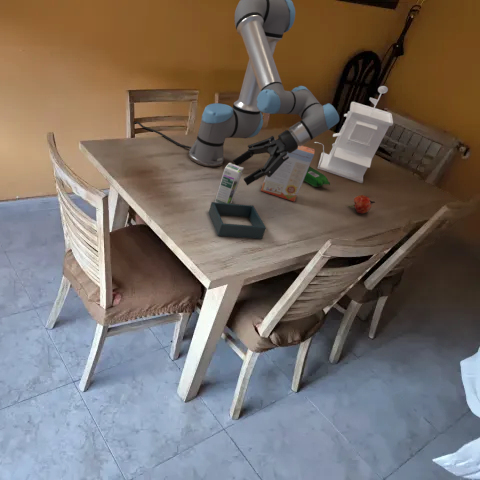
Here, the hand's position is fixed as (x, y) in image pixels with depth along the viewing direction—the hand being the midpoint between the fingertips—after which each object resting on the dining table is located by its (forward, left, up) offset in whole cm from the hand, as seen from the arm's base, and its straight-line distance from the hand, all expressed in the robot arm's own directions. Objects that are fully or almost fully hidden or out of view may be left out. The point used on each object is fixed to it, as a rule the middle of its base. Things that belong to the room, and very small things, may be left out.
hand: (239, 172), depth 153 cm
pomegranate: (+47, +30, -13) cm, 57 cm away
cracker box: (+15, +21, -13) cm, 29 cm away
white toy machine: (+36, +71, -13) cm, 80 cm away
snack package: (+26, +43, -13) cm, 52 cm away
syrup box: (-2, -1, -13) cm, 13 cm away
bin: (+5, -14, -13) cm, 20 cm away
